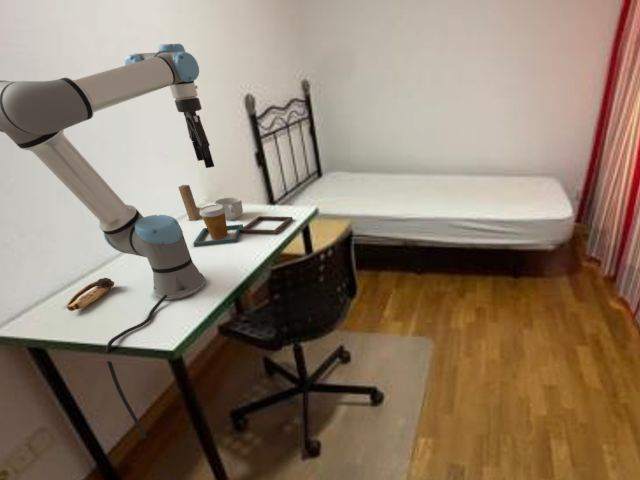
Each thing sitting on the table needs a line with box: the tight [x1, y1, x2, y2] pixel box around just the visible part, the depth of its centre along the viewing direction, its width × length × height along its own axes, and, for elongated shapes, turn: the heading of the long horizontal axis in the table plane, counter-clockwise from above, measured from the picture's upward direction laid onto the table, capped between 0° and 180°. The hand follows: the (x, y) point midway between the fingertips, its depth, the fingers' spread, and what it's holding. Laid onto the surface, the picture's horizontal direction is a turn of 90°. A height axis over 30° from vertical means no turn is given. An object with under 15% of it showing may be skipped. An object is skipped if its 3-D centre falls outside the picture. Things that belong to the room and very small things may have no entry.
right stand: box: [240, 215, 294, 235], centre depth 190 cm, size 16×16×2 cm
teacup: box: [214, 197, 244, 221], centre depth 199 cm, size 14×11×8 cm
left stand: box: [192, 223, 244, 247], centre depth 183 cm, size 16×16×2 cm
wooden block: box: [178, 184, 202, 221], centre depth 200 cm, size 7×3×15 cm, turn 169°
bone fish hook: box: [66, 277, 115, 312], centre depth 142 cm, size 9×5×18 cm
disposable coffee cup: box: [199, 204, 229, 240], centre depth 180 cm, size 10×10×12 cm
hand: (205, 163), depth 161 cm, fingers open, 13 cm apart
